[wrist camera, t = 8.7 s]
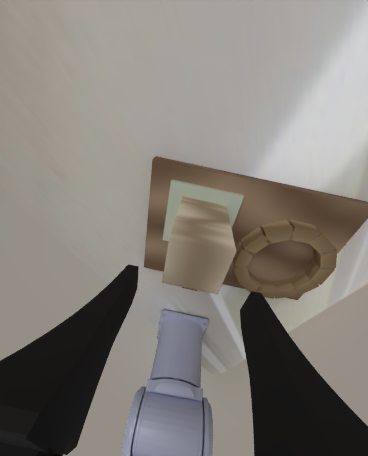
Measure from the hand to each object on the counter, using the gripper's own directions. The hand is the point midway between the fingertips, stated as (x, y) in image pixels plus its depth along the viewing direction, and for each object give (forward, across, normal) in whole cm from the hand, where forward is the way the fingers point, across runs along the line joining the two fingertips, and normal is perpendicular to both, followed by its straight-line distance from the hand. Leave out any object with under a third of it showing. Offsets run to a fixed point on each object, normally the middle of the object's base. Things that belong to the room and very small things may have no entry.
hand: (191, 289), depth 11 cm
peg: (+9, 0, 0) cm, 9 cm away
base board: (+10, -5, +2) cm, 12 cm away
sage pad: (+9, 0, 0) cm, 9 cm away
